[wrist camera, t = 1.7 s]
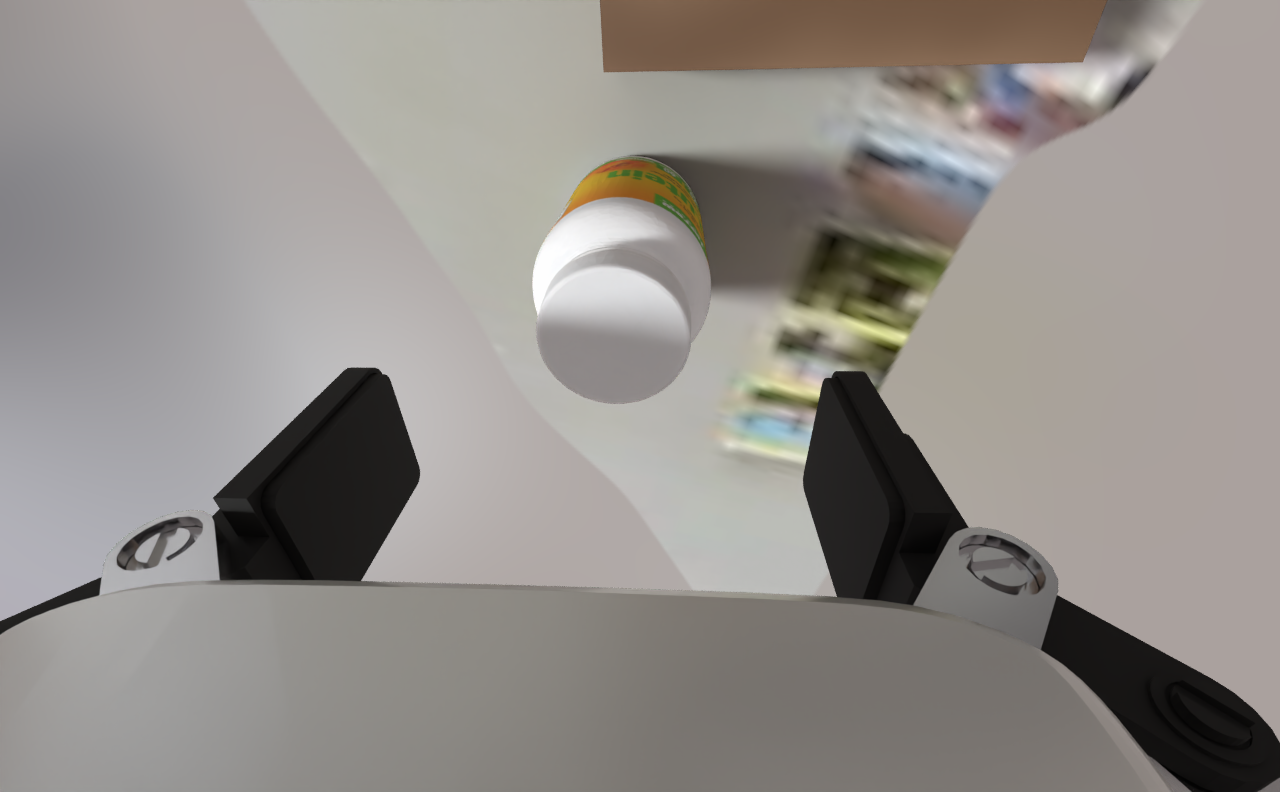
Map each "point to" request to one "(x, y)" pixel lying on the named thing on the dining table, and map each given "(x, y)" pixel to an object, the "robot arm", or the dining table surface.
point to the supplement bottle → (622, 282)
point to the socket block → (842, 33)
